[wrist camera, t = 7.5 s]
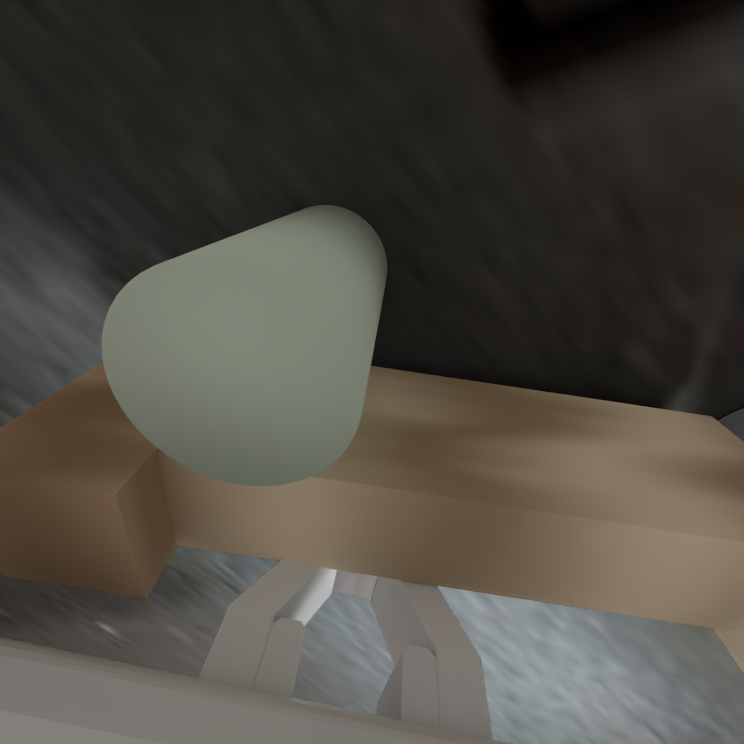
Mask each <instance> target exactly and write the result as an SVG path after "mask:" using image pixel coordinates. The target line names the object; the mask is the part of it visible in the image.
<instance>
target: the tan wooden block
mask: <svg viewBox="0 0 744 744" xmlns="http://www.w3.org/2000/svg"><path fill="white" fill-rule="evenodd" d="M178 546H185V547H192V548H198V549H205V550H211V551H218V552H224V553H231V554H237V555H243V556H250V557H256V558H263V559H269V560H276V561H281V560H282V559H283V558H287V559H292V560H297V561H302V562H307V563H312V564H317V565H322V568H327V569H333V570H340V571H346V572H353V573H359V574H366V575H372V576H378V577H385V578H391V579H398V580H404V581H411V582H417V583H423V584H430V585H436V586H443V587H449V588H456V589H462V590H469V591H475V592H481V593H488V594H494V595H501V596H507V597H514V598H520V599H526V600H533V601H539V602H546V603H552V604H559V605H565V606H571V607H578V608H584V609H591V610H597V611H604V612H610V613H616V614H623V615H629V616H636V617H642V618H649V619H655V620H661V621H668V622H674V623H681V624H687V625H694V626H700V627H707V628H713V629H719V630H726V631H732V632H739V633H744V442H743V441H742V440H741V439H739V438H738V437H737V436H736V435H734V434H733V433H732V432H731V431H729V430H728V429H727V428H726V427H724V426H723V425H722V424H721V423H719V422H718V421H717V420H716V419H715V418H713V417H712V416H706V415H699V414H693V413H686V412H679V411H672V410H666V409H659V408H652V407H645V406H639V405H632V404H625V403H618V402H612V401H605V400H598V399H591V398H585V397H578V396H571V395H564V394H558V393H551V392H544V391H537V390H531V389H524V388H517V387H510V386H504V385H497V384H490V383H483V382H477V381H470V380H463V379H457V378H450V377H443V376H436V375H430V374H423V373H416V372H409V371H403V370H396V369H389V368H382V367H376V366H371V367H370V372H369V377H368V383H367V388H366V394H365V399H364V405H363V410H362V415H361V419H360V422H359V426H358V429H357V431H356V433H355V435H354V438H353V440H352V441H351V443H350V444H349V446H348V447H347V449H346V450H345V451H344V452H343V454H342V455H341V456H340V457H339V458H338V459H337V460H336V461H335V462H333V463H332V464H331V465H330V466H328V467H327V468H326V469H324V470H322V471H321V472H319V473H317V474H315V475H313V476H311V477H308V478H306V479H304V480H300V481H297V482H293V483H289V484H283V485H277V486H248V485H240V484H234V483H229V482H225V481H221V480H218V479H215V478H211V477H208V476H206V475H203V474H201V473H199V472H196V471H194V470H192V469H190V468H188V467H186V466H184V465H182V464H180V463H179V462H177V461H175V460H174V459H172V458H171V457H169V456H168V455H166V454H165V453H163V452H162V451H161V450H160V449H158V448H157V447H156V446H154V445H153V444H152V443H151V442H150V441H149V440H148V439H147V438H146V437H145V436H144V435H142V434H141V432H140V431H139V430H138V429H137V428H136V427H135V426H134V425H133V423H132V422H131V421H130V420H129V418H128V417H127V415H126V414H125V413H124V411H123V410H122V408H121V407H120V405H119V403H118V401H117V400H116V398H115V396H114V394H113V392H112V389H111V387H110V385H109V382H108V379H107V376H106V372H105V369H104V364H103V363H101V364H100V365H98V366H97V367H95V368H93V369H92V370H90V371H89V372H87V373H86V374H84V375H82V376H81V377H79V378H78V379H76V380H75V381H73V382H71V383H70V384H68V385H67V386H65V387H63V388H62V389H60V390H59V391H57V392H56V393H54V394H52V395H51V396H49V397H48V398H46V399H45V400H43V401H41V402H40V403H38V404H37V405H35V406H33V407H32V408H30V409H29V410H27V411H26V412H24V413H22V414H21V415H19V416H18V417H16V418H15V419H13V420H11V421H10V422H8V423H7V424H5V425H3V426H2V427H0V573H1V575H2V576H4V577H10V578H17V579H23V580H29V581H36V582H42V583H49V584H55V585H61V586H68V587H74V588H80V589H87V590H93V591H99V592H106V593H112V594H118V595H125V596H131V597H137V598H144V599H147V597H148V596H149V594H150V592H151V591H152V589H153V587H154V586H155V584H156V582H157V581H158V579H159V577H160V576H161V574H162V572H163V571H164V569H165V568H166V566H167V564H168V563H169V561H170V559H171V558H172V556H173V554H174V553H175V551H176V549H177V548H178Z"/></svg>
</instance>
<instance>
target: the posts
mask: <svg viewBox="0 0 744 744" xmlns="http://www.w3.org/2000/svg"><path fill="white" fill-rule="evenodd" d="M386 280H387V258H386V253H385V250H384V247H383V244H382V242H381V240H380V238H379V236H378V235H377V233H376V232H375V230H374V229H373V228H372V226H371V225H370V224H369V223H368V222H367V221H366V220H364V219H363V218H362V217H360V216H359V215H358V214H356V213H354V212H352V211H350V210H348V209H346V208H343V207H339V206H334V205H316V206H311V207H308V208H305V209H302V210H300V211H297V212H294V213H292V214H289V215H287V216H284V217H281V218H279V219H276V220H273V221H271V222H268V223H265V224H263V225H260V226H257V227H255V228H252V229H249V230H247V231H244V232H242V233H239V234H236V235H234V236H231V237H228V238H226V239H223V240H220V241H218V242H215V243H212V244H210V245H207V246H204V247H202V248H199V249H197V250H194V251H191V252H189V253H186V254H183V255H181V256H178V257H175V258H173V259H170V260H167V261H165V262H162V263H159V264H157V265H154V266H152V267H151V268H149V269H147V270H145V271H143V272H141V273H140V274H138V275H137V276H136V277H134V278H133V279H132V280H131V281H129V282H128V283H127V284H126V285H125V286H124V288H123V289H122V290H121V291H120V292H119V293H118V294H117V296H116V298H115V299H114V301H113V303H112V304H111V306H110V308H109V311H108V313H107V316H106V319H105V322H104V327H103V333H102V357H103V364H104V369H105V372H106V376H107V379H108V382H109V385H110V387H111V389H112V392H113V394H114V396H115V398H116V400H117V401H118V403H119V405H120V407H121V408H122V410H123V411H124V413H125V414H126V415H127V417H128V418H129V420H130V421H131V422H132V423H133V425H134V426H135V427H136V428H137V429H138V430H139V431H140V432H141V434H142V435H144V436H145V437H146V438H147V439H148V440H149V441H150V442H151V443H152V444H153V445H154V446H156V447H157V448H158V449H160V450H161V451H162V452H163V453H165V454H166V455H168V456H169V457H171V458H172V459H174V460H175V461H177V462H179V463H180V464H182V465H184V466H186V467H188V468H190V469H192V470H194V471H196V472H199V473H201V474H203V475H206V476H208V477H211V478H215V479H218V480H221V481H225V482H229V483H234V484H240V485H248V486H277V485H283V484H289V483H293V482H297V481H300V480H304V479H306V478H308V477H311V476H313V475H315V474H317V473H319V472H321V471H322V470H324V469H326V468H327V467H328V466H330V465H331V464H332V463H333V462H335V461H336V460H337V459H338V458H339V457H340V456H341V455H342V454H343V452H344V451H345V450H346V449H347V447H348V446H349V444H350V443H351V441H352V440H353V438H354V435H355V433H356V431H357V429H358V426H359V422H360V419H361V415H362V410H363V405H364V399H365V394H366V388H367V383H368V377H369V372H370V367H371V361H372V356H373V350H374V345H375V339H376V334H377V329H378V323H379V318H380V312H381V307H382V301H383V296H384V291H385V285H386ZM718 422H719V423H721V424H722V425H723V426H724V427H726V428H727V429H728V430H729V431H731V432H732V433H733V434H734V435H736V436H737V437H738V438H739V439H741V440H742V441H743V442H744V408H743V409H740V410H737V411H735V412H733V413H730V414H729V415H727V416H725V417H723V418H722V419H720V420H718ZM715 631H716V633H717V634H718V636H719V637H720V639H721V640H722V642H723V643H724V645H725V646H726V648H727V649H728V651H729V652H730V654H731V655H732V657H733V658H734V660H735V661H736V663H737V664H738V666H739V667H740V669H741V670H742V672H743V673H744V633H739V632H732V631H726V630H719V629H715Z"/></svg>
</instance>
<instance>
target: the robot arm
mask: <svg viewBox="0 0 744 744" xmlns="http://www.w3.org/2000/svg"><path fill="white" fill-rule="evenodd" d="M331 592H338V593H343V594H349V595H353V596H358V597H362V598H366V599H370V600H371V601H370V602H371V605H372V607H373V610H374V613H375V615H376V618H377V621H378V623H379V626H380V628H381V631H382V634H383V636H384V639H385V642H386V644H387V647H388V650H389V652H390V655H391V658H392V660H393V663H394V665H395V668H394V670H393V672H392V674H391V676H390V678H389V680H388V683H387V685H386V687H385V689H384V691H383V693H382V695H381V697H380V699H379V701H378V706H377V715H373V714H368V713H364V712H359V711H354V710H349V709H345V708H340V707H335V706H330V705H325V704H321V703H316V702H311V701H306V700H302V699H297V698H292V695H293V690H294V686H295V681H296V676H297V672H298V667H299V662H300V658H301V653H302V648H303V643H304V639H305V634H306V628H305V627H304V626H305V625H306V624H307V622H308V621H309V620H310V619H311V617H312V616H313V615H314V614H315V613H316V611H317V610H318V609H319V608H320V607H321V605H322V604H323V603H324V602H325V601H326V599H327V598H328V597H329V596H330V595H331ZM0 744H512V743H507V742H502V741H497V740H493V739H492V732H491V725H490V718H489V711H488V704H487V697H486V690H485V683H484V676H483V669H482V662H481V658H480V656H479V654H478V653H477V651H476V649H475V648H474V646H473V645H472V643H471V641H470V640H469V638H468V636H467V635H466V633H465V632H464V630H463V628H462V627H461V625H460V623H459V622H458V620H457V618H456V617H455V615H454V614H453V612H452V610H451V609H450V607H449V605H448V604H447V602H446V601H445V599H444V597H443V596H442V594H441V592H440V591H439V589H438V588H437V586H436V585H430V584H423V583H417V582H411V581H404V580H398V579H391V578H385V577H378V576H372V575H366V574H359V573H353V572H346V571H340V570H333V569H327V568H322V565H317V564H312V563H307V562H302V561H297V560H292V559H287V558H283V559H282V560H281V561H280V562H278V563H277V564H276V565H275V566H274V567H273V568H271V569H270V570H269V571H268V572H267V573H266V574H264V575H263V576H262V577H261V578H260V579H259V580H257V581H256V582H255V583H254V584H253V585H252V586H250V587H249V588H248V589H247V590H246V591H245V592H243V593H242V594H241V595H240V596H239V597H238V598H236V599H235V600H234V601H233V602H232V603H231V604H230V605H229V607H228V610H227V612H226V614H225V617H224V619H223V622H222V624H221V626H220V629H219V631H218V633H217V636H216V638H215V640H214V643H213V645H212V647H211V650H210V652H209V654H208V657H207V659H206V661H205V664H204V666H203V668H202V671H201V673H200V675H199V678H196V677H192V676H187V675H182V674H177V673H172V672H168V671H163V670H158V669H153V668H149V667H144V666H139V665H134V664H129V663H125V662H120V661H115V660H110V659H105V658H101V657H96V656H91V655H86V654H82V653H77V652H72V651H67V650H62V649H58V648H53V647H48V646H43V645H38V644H34V643H29V642H24V641H19V640H15V639H10V638H5V637H0Z"/></svg>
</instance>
